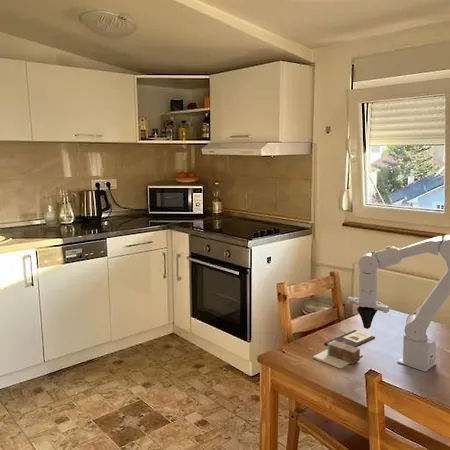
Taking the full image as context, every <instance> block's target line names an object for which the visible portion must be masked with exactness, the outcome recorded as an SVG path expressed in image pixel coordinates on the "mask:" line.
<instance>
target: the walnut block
mask: <svg viewBox="0 0 450 450" xmlns="http://www.w3.org/2000/svg"><path fill="white" fill-rule="evenodd" d="M327 349H328V350H327ZM327 349H326V350H327V355H330V356H332V357H335V358H338V359H340V360H343V361H346V362H348V363H350V364H351V365H354V364H355V363H358V362H359V361H360V360H361V357H360V354H361V349H360V348H359V347H353V346H350V345H347V344H344V343H341V342H338V341H335V340H334V341H332V342H330V343H328V346H327Z"/></svg>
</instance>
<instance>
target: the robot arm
mask: <svg viewBox="0 0 450 450" xmlns="http://www.w3.org/2000/svg"><path fill="white" fill-rule="evenodd" d="M427 253H428V254H432V255H434V256H439V253H440V255H441V256H442V258H443V259H444V260H445V263H446V267H447V269H446V270H445V272H444V273H443V275H442V276H441V277H440V278H439V280H438V281H437V282H436V284H435V286H434V287H433V288H432V290H430V293H429V294H428V295H427V296H426V297H425V299H424V301H423V302H422V304H421V305H420V306H419V307H418V308H417V309H416V310H415V311H413V313H410V314H408V315H407V318H406V321H405V322H406V323H405V326H404V332H403V343H402V344H403V346H402V357H401V358H399V359H398V360H397V363H399V364H402V365H404V366H406V367H410V368H413V369H415V370H416V369H417V370H420V371H422V372H427V371H429V370H430V369H432V368H433V367H434V366H435V365H437V362H436V359H437V358H436V356H437V352H436V351H437V344H436V343H435V342H434V341H433V340H430V339H429V338H428V335H427V329H428V328H429V326H430V324H431V322H432V320H433V318H434V317H435V315H436V314H437V312H439V310H440V308H442V306H443V304H444V303H445V302H446V301H447V299H448V297H449V296H450V233H449V234H445V235H439V236H434V237H432V238H428V239H425V240H422V241H418V242H416V243H412V244H410V245H407V246H404V247H400V248H399V247H396V246H395V245H394V246H391V245H387V246H385V248H384V249H380V250H377V251H375V250H372V251H371V252H366V253H364V254H363V255H362V256H361V257H360V258H359V260H358V264H357V265H358V268H359V277H358V297H355V296H348V297H347V304H354V305H357V306H358V307H357V309H356V311H357V312H358V315H359V316H360V319H361V322H362V324H363V329H366V330H369V329H371V327H372V323H373V319H374V317H375V315H376V314H377V312H378V311H379V312H383V314H387V313H389V312H390V305H387V304H384V303H383V302H380V301H377V300H378V299H377V298H378V274H377V270H378V269H383V268H387V267H391V266H394V265H398V264H401V261H402V260H403V259H406V258H409V257H414V256H418V255H423V254H427Z"/></svg>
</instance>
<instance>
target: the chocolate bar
mask: <svg viewBox="0 0 450 450" xmlns="http://www.w3.org/2000/svg"><path fill="white" fill-rule="evenodd" d="M374 339H376V336H375V335H374V336H373V335H370V334H368V333H365V332H362V331H360V330H357V329H354V330H352V331H349V332H347V333H344V334H342V335H340V336H337V337H335V338H333V339H330V340H328V341H325V342H324V344H323V345H325V346H327V347H328V343H330V342H332V341H334V340H335V341H338V342H341V343H344V344H347V345H350V346H353V347H356V348H358V347H359V346H362V345H363V344H366V343H368V342H370V341H372V340H374Z"/></svg>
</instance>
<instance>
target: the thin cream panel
mask: <svg viewBox="0 0 450 450" xmlns="http://www.w3.org/2000/svg"><path fill="white" fill-rule="evenodd" d="M327 350H328V348H327V349H325V350H323V351H321V352H319V353H317V354H314V355H313V357H312V358H313V359H314V360H317V361H319V362H322V363H325V364H328V365H329V366H333V367H335V368H336V369H337V368H338V369H340V370H341V369H343V368H344V367H345V368H346V366H348V365H350V364H351V363H348V362H346V361H343V360H340V359H338V358H335V357H332V356H330V355H327ZM363 355H364V354H362V353H360V358H362V357H363Z"/></svg>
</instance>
